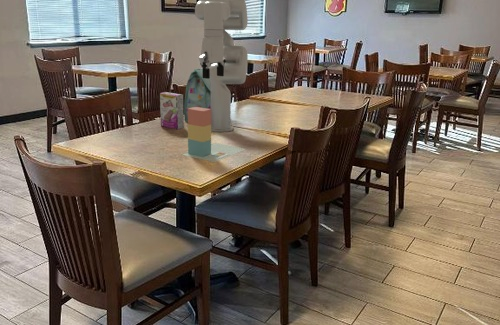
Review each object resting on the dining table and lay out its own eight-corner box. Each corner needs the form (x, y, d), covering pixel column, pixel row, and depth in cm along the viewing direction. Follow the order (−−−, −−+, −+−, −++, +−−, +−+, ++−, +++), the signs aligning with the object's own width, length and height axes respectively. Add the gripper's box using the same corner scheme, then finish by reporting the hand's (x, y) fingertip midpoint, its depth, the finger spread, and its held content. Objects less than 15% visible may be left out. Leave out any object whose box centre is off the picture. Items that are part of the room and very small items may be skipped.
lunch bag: (210, 125, 231) (210, 70, 223) (181, 121, 236) (180, 68, 228) (228, 116, 251) (228, 66, 243) (200, 113, 257) (200, 64, 248)
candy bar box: (160, 126, 225) (158, 93, 220) (167, 124, 229) (166, 91, 224) (177, 130, 219) (176, 95, 214) (184, 128, 223) (183, 94, 218)
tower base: (188, 153, 182) (187, 124, 178) (196, 150, 186) (195, 121, 182) (203, 157, 178) (203, 126, 174) (211, 154, 182) (211, 124, 178)
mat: (181, 155, 180) (181, 154, 180) (215, 143, 198) (215, 142, 198) (214, 163, 172) (214, 162, 172) (246, 149, 190) (246, 149, 190)
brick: (187, 124, 178) (187, 108, 176) (196, 121, 182) (195, 106, 180) (203, 126, 174) (203, 111, 172) (211, 124, 178) (211, 109, 176)
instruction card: (207, 155, 180) (207, 155, 180) (216, 152, 185) (216, 151, 185) (220, 158, 177) (220, 157, 177) (229, 154, 182) (229, 154, 182)
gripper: (218, 33, 194) (218, 74, 199) (192, 34, 180) (192, 78, 185) (233, 34, 190) (232, 76, 195) (207, 35, 176) (207, 80, 181)
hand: (213, 77), depth 190 cm, fingers open, 9 cm apart
